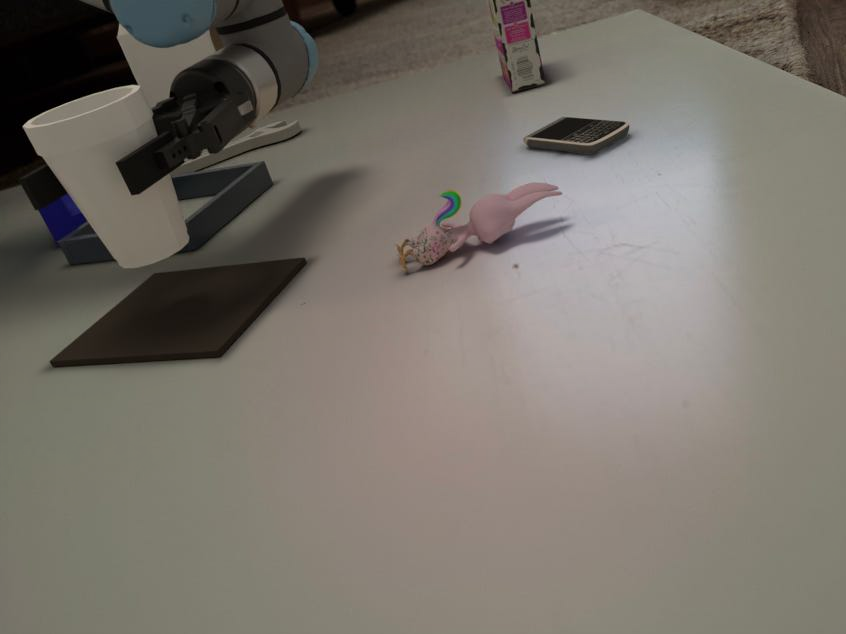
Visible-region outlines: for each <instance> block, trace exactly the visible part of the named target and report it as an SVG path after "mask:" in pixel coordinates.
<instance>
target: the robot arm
mask: <svg viewBox="0 0 846 634" xmlns="http://www.w3.org/2000/svg"><path fill="white" fill-rule="evenodd" d="M79 1H80V2H83V3H85V4H88V5H90V6H93V7H95V8H98V9H100V10H103V11H106V12H108V13H110V14H113V15H114V16H115V17H116V20H117V21H118V24H119V23H120V24H121V25H122V27H124V28H125V29H126V30H127V31H128V32H129V33H130V34H131V35H132V36H133V37H134V38H135V39H136V40H138V41H139V42H141V43H143V44H145V45H148V46H152V47H156V48H169V47H174V46H176V45H179V44H185V43H188V42H190V41H192V40H194V39H197V38H199V37H200V36H201V35H203V34H204V33H205V32H206V31H208V30H209V29H211V28H213V27H214V26H215V27H216V30H217V32H218V34H219V36H220V38H221V41H222V44H223V46H224V48H222V49H220V50H218V51H217V52H215V53H213V54H211V55H209V56H207V57H206V58H204V59H202V60H201V61H199V62H197V63H195V64H194V65H192V66H190V67H188V68H186V69H184V70H182V71H181V72H180V73H178V74H177V76H176V77H175V78H174V80H173V82H172V84H171V88H170V95H169V98H168V99H165V100H163V101H160V102H158V103H157V104H156V106H155V107H153V108H151V110H152V112H153V116H152V119H153V122H154V125H155V129H156V132H157V135H158V136H157V137H156V138H154V139H152V140H151V141H149V142H148V143H146V144H144V145H143V146H141V147H140V148H138V149H136V150H135V151H133V152H132V153H130V154H128V155H127V156H125V157H124V158H122V159H120V160H119V161H117V162H115V163H116V165H117V167H118V169H119V171H120V173H121V175H122V177H123V179H124V181H125V183H126V185H127V187H128V189H129V191H130V193H131V195H138V194H140V193H142V192H143V191H145V190H146V189H148V188H149V187H150V186H152V185H153V184H155V183H156V182H158V181H159V180H160V179H162V178H163V177H165V176H166V175H168V174H169V173H171V172H172V171H173V170H175V169H176V168H178V167H179V166H181V165H182V164H183V163H185V161H184V160H187V159H188V160H189V159H192V160H193V159H196V158H198V157H200V155H201V154H202V153H203V151H204V150H206V151H207V152H209V154H213V153H214V154H216V153H219V151H221V150H222V149H223V148H224V147H225V146H226V145H227V144H229V143H231V142H232V140H233V139H234V138H236V137H237V136H239V135H240V134H241V133H243V132H244V131H246V130H247V129H248V128H249V129H251V130H253V129H255V128H257V127H258V121H259V120H260V119H262V118H263V117H265V116H266V115H268V113H270V112H271V111H273V110H274V109H275V108H277V107H279V106H280V105H282V104H283V103H285V102H287V101H288V100H289V99H291V98H294V97H295V96H297V95H298V94H300V93H301V91H303V89H305V88H306V87H307V86H308V84H310V82H311V81H312V80H313V79H314V77H315V75H316V73H317V70H318V67H319V50H318V47H317V45H316V42H315V40H314V38H313V37H312V35H310V34H309V33H308V32H307V30H306V29H305V28H304V27H303V26H302V25H300V23H297V22H296V21H294V20H293V21H292V20H291V19H290V17H289V14H288V12H287V11H286V8H285V5H284V3H283V0H79ZM17 181H18V182H19V184H20V186H21V187H22V189H23V191H24V193H25V194H26V196H27V198H28V200H29V201H30V203H31V205H32V207H33V209H34V211H38V210H41V209H43V208H45V207H47V206H48V205H50V204H51V203H53V202H55V201H56V200H58V199H59V198H61V197H63V196H64V195H66V194H67V191H66V190H65V188H64V187H63V185H62V184H61V183H60V181H59V180H58V178H57V177H56V176H55V174H54V173H53V171H52V170H51V169H50V167H49V166H48V164H47V163H46V162H45V163H44V164H43V165H41V166H39V167H37V168H35V169H34V170H32V171H30V172H28V173H27V174H25V175H23V176H22V177H20V178H18V179H17Z"/></svg>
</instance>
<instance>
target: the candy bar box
mask: <svg viewBox="0 0 846 634" xmlns="http://www.w3.org/2000/svg"><path fill="white" fill-rule="evenodd" d="M486 5H487V9H488V14H489V18H490V23H491V28H492V33H493V38H494V41H495V47H496V51H497V57H498V61H499V65H500V68H501V74H502V77H503V78H504V80H505V83H506V84H507V85H508V87H509V89H510V91H511V92H512V93H517V92H520V91H521V92H522V91H524V90H528V89H532V88H536V87H540V86H543V85H545V84H546V78H545V73H544V68H543V62H542V55H541V51H540V46H539V41H538V36H537V29H536V25H535V20H534V19H535V18H534V14H533V9H532V3H531V0H486Z"/></svg>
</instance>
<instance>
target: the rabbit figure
mask: <svg viewBox="0 0 846 634" xmlns="http://www.w3.org/2000/svg"><path fill="white" fill-rule="evenodd" d="M557 190H559V186H557V185H555V184H552V183H548V182H547V183H546V182H540V181H539V182H538V181H537V182H536V181H535V182H534V181H533V182H529V183H526V184H523V185H519V186H517V187H516V188H513V189H512V190H511V191H509V192H508V193H506V194H505V193H504V194H501V193H490V194H487V195H485V196H483V197H481V198H480V199H478V200H477V201H476V202H474V204H473V205H472V206H471V208H470V211H469V221H468V222H467V223H466V224H461V223H458V222H454V221H443V220H446V219H449V218H451V217H453V216H455V215H456V214H457V213H458V212H459V211H460V209H461V206H462V198H461V196H460V194H459V193H458V192H457V191H455V190H451V189H450V190H445V191H443V192H442V193H441V194H440V195H438V198H442V199H443V198H444V199H446V200H447V202H446V203H445V204H444V205H441V207H440V208H439V209H438V210H437V212H436V213H435V215H434V218H433V220H432V222H431V224H429V225H427V226H425V227H424V228H422V229H421V230H420V232H419V234H418V236H416V237H413V238H410V237H406V238H404V240H403V242H402V243H401V245H398V244H397V243H394V245H395V246H396V247H397V249H396V250H397V252H398V254H396V256H397V257H399V258H398V261H399V263H400V266H401V267H402V268H403V272H405V274H407V273H408V269H409V268H408V266H407V265H406V259H407V258H408V256H411V257H413V258H414V259H415V260H416V261H417V262H418V263H420V264H421V265H422V266H433V265H434V264H436V263H437V262H438V261H439V260H441V258H443V257H444V256H445V255H446V254H447V253H448V252H449V251H450V252H451V253H452V252H455V251H456V250H458V248H461V247H462V246H463V245H464V244H465V243H466V241H467V240H468V239H469V238H470V237H472V236H475V237H477V240H478V241H479V242H485V243H487V244H488V245H492V244H493V243H494V242H495V241H498V240H499V238H500V237H501V236H503V235H506V234H507V233H509V232H510V231H512V230H513V228H514V226H515V223H516V219H517V218H518V217H519V216H521V214H523V213H524V212H525V211H526V210H527V209H530V207H532V206H533V205H534V204H536V203H537V202H539V201H542V200H543V199H545V198H549V197H557V196H561V195H563V192H562V191H560V190H559V191H557ZM441 222H442V223H441ZM406 246H409V247H410V248H407V250H406V251H405V253H404V248H405V247H406Z"/></svg>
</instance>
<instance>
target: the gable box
mask: <svg viewBox="0 0 846 634" xmlns="http://www.w3.org/2000/svg"><path fill="white" fill-rule="evenodd" d="M116 39H117V41H118V43H119V46H120V47H121V50H122V52H123V55H124V57H125V59H126V61H127V63H128V65H129V68H130V70H131V73H132V75H133V77H134V79H135V81H136V83H137V85H138V86H141V88H142V90H143V92H144V94H145V96H146V99H147V101H148V103H149V105H150V107H151V108H153V107H155V106H156V104H157V103H158V102H160V101H163V100H165V99H168V98H169V95H170V88H171V84H172V82H173V80H174V78H175V77H176V76H177V74H178V73H180V72H181V71H182V70H184V69H186V68H188V67H190V66H192V65H194V64H195V63H197V62H199V61H201V60H202V59H204V58H206V57H207V56H209V55H211V54H213V53H215V52H217V51H218V50H220V49H222V48H224V46H223V44H222V41H221V38H220V36H219V34H218V32H217V30H216V27H215V26H214V27H213V28H211V29H209V30H208V31H206V32H205V33H204V34H203V35H201V36H200V37H199V38H197V39H194V40H192V41H190V42H188V43H185V44H179V45H176V46H174V47H169V48H156V47H152V46H148V45H145V44H143V43H141V42H139V41H138V40H136V39H135V38H134V37H133V36H132V35H131V34H130V33H129V32H128V31H127V30H126V29H125V28H124V27H122V25H121V24H120V23H119V22H118V30H117V34H116Z"/></svg>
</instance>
